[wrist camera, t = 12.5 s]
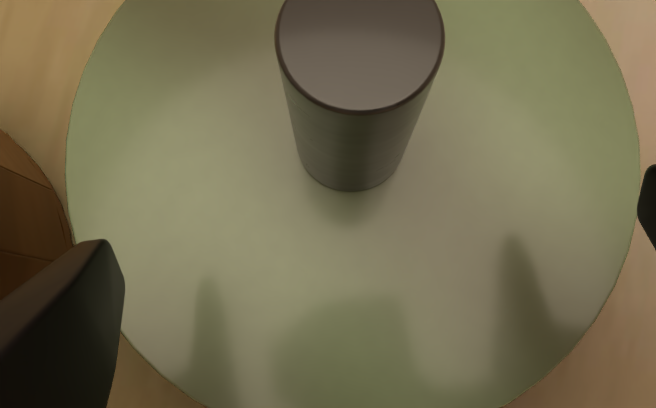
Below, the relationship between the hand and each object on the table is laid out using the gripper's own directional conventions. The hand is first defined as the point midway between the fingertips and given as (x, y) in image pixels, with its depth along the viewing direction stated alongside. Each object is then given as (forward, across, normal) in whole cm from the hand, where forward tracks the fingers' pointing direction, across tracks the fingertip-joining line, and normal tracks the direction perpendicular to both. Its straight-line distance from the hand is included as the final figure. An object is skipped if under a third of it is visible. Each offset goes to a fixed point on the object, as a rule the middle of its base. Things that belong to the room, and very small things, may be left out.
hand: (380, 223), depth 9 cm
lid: (+5, 0, +1) cm, 5 cm away
